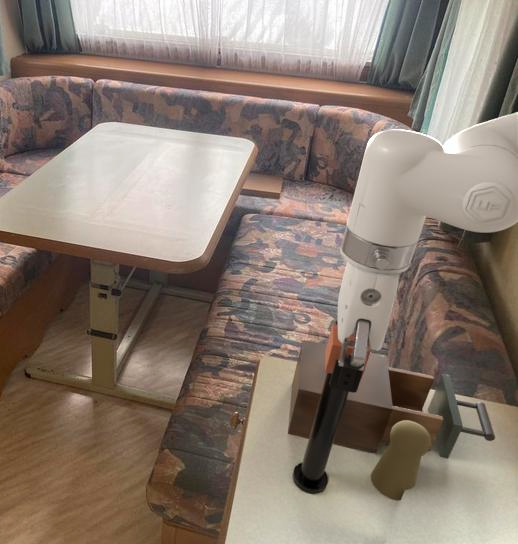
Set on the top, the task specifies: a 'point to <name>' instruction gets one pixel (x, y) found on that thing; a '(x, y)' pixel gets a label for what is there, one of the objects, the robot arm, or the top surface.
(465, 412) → the top surface
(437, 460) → the top surface
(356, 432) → the cabinet
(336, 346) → the block
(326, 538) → the top surface
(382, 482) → the cork
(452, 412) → the drawer
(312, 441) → the stand
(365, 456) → the top surface
